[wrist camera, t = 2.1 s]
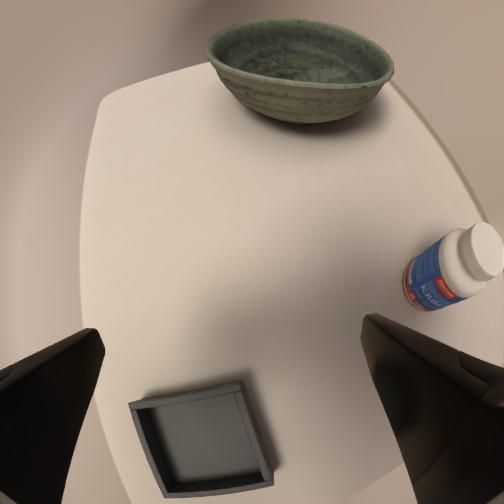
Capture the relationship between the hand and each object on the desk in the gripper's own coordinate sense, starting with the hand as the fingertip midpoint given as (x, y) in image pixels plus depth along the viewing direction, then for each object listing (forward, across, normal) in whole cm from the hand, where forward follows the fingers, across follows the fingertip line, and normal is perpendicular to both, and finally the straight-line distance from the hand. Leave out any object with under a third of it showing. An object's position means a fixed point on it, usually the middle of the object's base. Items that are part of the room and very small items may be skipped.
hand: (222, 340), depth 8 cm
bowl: (+29, -8, -13) cm, 33 cm away
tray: (+6, +4, +15) cm, 17 cm away
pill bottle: (+13, -17, +6) cm, 22 cm away
